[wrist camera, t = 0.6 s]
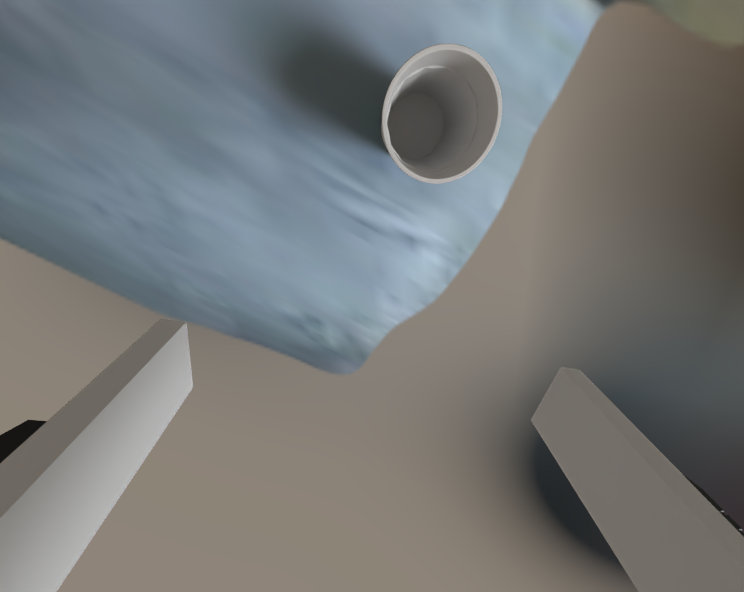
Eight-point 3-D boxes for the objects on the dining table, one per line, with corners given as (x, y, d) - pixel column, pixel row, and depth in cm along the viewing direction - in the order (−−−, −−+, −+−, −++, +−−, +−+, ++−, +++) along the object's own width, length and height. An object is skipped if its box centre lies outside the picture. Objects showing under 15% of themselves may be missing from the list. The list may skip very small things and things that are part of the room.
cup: (369, 167, 32) (376, 178, 22) (376, 76, 29) (388, 35, 18) (443, 173, 33) (485, 187, 22) (458, 85, 29) (517, 51, 19)
